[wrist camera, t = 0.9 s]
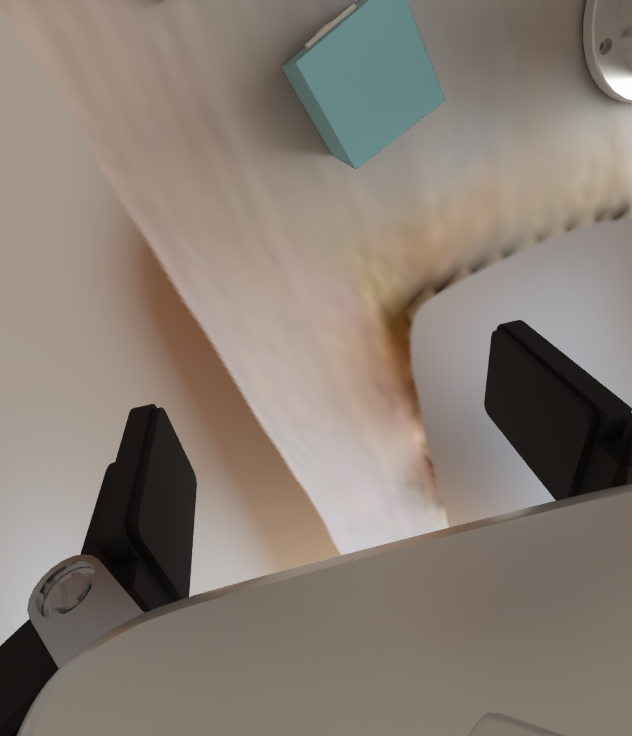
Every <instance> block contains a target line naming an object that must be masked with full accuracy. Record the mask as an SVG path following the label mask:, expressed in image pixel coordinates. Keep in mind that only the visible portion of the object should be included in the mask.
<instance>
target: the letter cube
mask: <svg viewBox="0 0 632 736" xmlns="http://www.w3.org/2000/svg"><path fill="white" fill-rule="evenodd" d="M316 34H317V35H315V36H314V37H313V38H312V39H311V40H310V41H308V42H307V43H306V44H305V47H304V48H303V49H302V50H301V51H300V52H298V53H297V54H296V55H295V56H294V57H292V58H291V59H290V60H289V61H288V62H287V63H285V64H284V65H283V66H282V67H281V68H282V70H283V72H284V73H285V75H286V77H287V79H288V80H289V82H290V84H291V85H292V87H293V89H294V91H295V92H296V94H297V96H298V98H299V99H300V101H301V103H302V104H303V106H304V108H305V110H306V111H307V113H308V115H309V116H310V118H311V120H312V122H313V123H314V125H315V127H316V128H317V130H318V132H319V134H320V135H321V137H322V139H323V141H324V142H325V144H326V146H327V147H328V149H329V151H330V153H331V154H332V156H334V157H336V158H337V159H339V160H341V161H342V162H344V163H346V164H347V165H349V166H351V167H352V168H354V169H356V168H358V167H359V166H360V165H362V164H363V163H364V162H366V161H367V160H368V159H369V158H371V157H372V156H373V155H375V154H376V153H377V152H379V151H380V150H381V149H382V148H384V147H385V146H386V145H388V144H389V143H390V142H392V141H393V140H394V139H395V138H397V137H398V136H399V135H401V134H402V133H403V132H405V131H406V130H407V129H409V128H410V127H411V126H412V125H414V124H415V123H416V122H418V121H419V120H420V119H422V118H423V117H424V116H425V115H427V114H428V113H429V112H431V111H432V110H433V109H435V108H436V107H437V106H439V105H440V104H441V103H442V102H444V101H445V98H444V95H443V93H442V90H441V87H440V85H439V82H438V80H437V77H436V75H435V72H434V69H433V67H432V64H431V62H430V59H429V57H428V54H427V51H426V49H425V46H424V44H423V41H422V38H421V36H420V33H419V31H418V28H417V26H416V23H415V20H414V18H413V15H412V13H411V10H410V8H409V5H408V2H407V0H359V1H358V2H357V3H356V4H355V3H353V4H352V5H351V6H349V7H348V8H347V9H346V10H345V11H344V12H342V13H341V14H340V15H339V16H338V17H337V18H335V19H334V20H333V21H332V22H330V23H328V24H326V25H325V26H323V27H322V28H321V29H320V30H319V31H317V32H316Z"/></svg>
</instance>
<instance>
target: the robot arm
mask: <svg viewBox="0 0 632 736" xmlns="http://www.w3.org/2000/svg"><path fill="white" fill-rule="evenodd" d="M583 44H584V51H585V58H586V62H587V65H588V68H589V71H590V73H591V76H592V78H593V79H594V81H595V82H596V84H597V85H598V87H599V88H600V89H601V90H602V91H603V92H605V93H606V94H607V95H608V96H609V97H611V98H614V99H616V100H619V101H621V102H628V103H632V0H586V6H585V13H584V19H583ZM484 404H485V410H486V412H487V414H488V415H489V417H490V418H491V419H492V421H493V422H494V423H495V424H496V425H497V427H498V428H499V429H500V431H501V432H502V433H503V434H504V436H505V437H506V438H507V439H508V441H509V442H510V443H511V444H512V446H513V447H514V448H515V450H516V451H517V452H518V453H519V455H520V456H521V457H522V458H523V460H524V461H525V462H526V463H527V465H528V466H529V467H530V468H531V470H532V471H533V472H534V474H535V475H536V476H537V477H538V478H539V480H540V481H541V482H542V484H543V485H544V486H545V487H546V488H547V490H548V491H549V492H550V494H551V495H552V496H553V497H554V499H555V500H556V501H553V502H549V503H546V504H541V505H538V506H534V507H529V508H525V509H522V510H518V511H514V512H510V513H506V514H502V515H498V516H494V517H490V518H486V519H482V520H478V521H474V522H470V523H466V524H462V525H458V526H454V527H450V528H446V529H442V530H439V531H435V532H431V533H427V534H423V535H419V536H415V537H411V538H407V539H404V540H400V541H396V542H392V543H388V544H384V545H380V546H376V547H373V548H369V549H365V550H361V551H357V552H353V553H349V554H346V555H342V556H338V557H334V558H331V559H327V560H323V561H319V562H315V563H311V564H308V565H304V566H300V567H296V568H292V569H289V570H285V571H281V572H277V573H274V574H270V575H266V576H262V577H259V578H255V579H251V580H247V581H244V582H240V583H237V584H233V585H230V586H226V587H223V588H219V589H216V590H212V591H208V592H205V593H201V594H198V595H194V596H191V597H189V589H190V575H191V561H192V546H193V532H194V531H193V530H194V517H195V502H196V487H197V482H196V476H195V473H194V471H193V469H192V467H191V464H190V462H189V460H188V459H187V456H186V454H185V452H184V450H183V448H182V446H181V443H180V441H179V439H178V437H177V435H176V433H175V431H174V429H173V427H172V425H171V422H170V420H169V418H168V416H167V414H166V412H165V410H164V409H163V408H162V407H161V408H157V407H156V406H155V405H154V404H150V405H146V406H142V407H137V408H133V409H131V411H130V413H129V416H128V420H127V423H126V427H125V430H124V434H123V438H122V441H121V444H120V448H119V451H118V454H117V458H116V462H114V463H111V464H110V465H109V466H108V468H107V470H106V473H105V476H104V479H103V482H102V486H101V489H100V493H99V496H98V499H97V502H96V505H95V509H94V512H93V515H92V518H91V522H90V525H89V529H88V532H87V535H86V538H85V541H84V545H83V548H82V551H81V555H76V556H73V557H70V558H68V559H66V560H64V561H62V562H60V563H59V564H58V565H56V566H54V567H53V568H51V569H50V570H49V571H48V572H47V573H46V574H45V575H44V576H43V577H42V578H41V580H40V581H39V582H38V584H37V585H36V586H35V588H34V590H33V592H32V594H31V596H30V598H29V603H28V609H27V610H28V614H29V618H30V619H29V620H28V621H27V622H26V623H24V624H23V625H22V626H21V627H20V628H19V629H18V630H17V631H16V632H15V633H14V634H13V635H12V636H11V637H10V638H9V639H7V640H6V641H5V642H4V643H3V644H2V645H1V646H0V736H632V413H631V411H632V408H631V407H629V406H628V405H627V404H626V403H624V402H623V401H622V400H621V399H620V398H618V397H617V396H616V395H615V394H613V393H612V392H611V391H610V390H608V389H607V388H606V387H605V386H603V385H602V384H601V383H600V382H598V381H597V380H596V379H595V378H593V377H592V376H591V375H590V374H588V373H587V372H586V371H585V370H583V369H582V368H581V367H580V366H578V365H577V364H576V363H575V362H573V361H572V360H571V359H570V358H568V357H567V356H566V355H565V354H563V353H562V352H561V351H559V350H558V349H557V348H556V347H554V346H553V345H552V344H551V343H549V342H548V341H547V340H546V339H545V338H543V337H542V336H541V335H540V334H538V333H537V332H536V331H535V330H533V329H532V328H531V327H530V326H528V325H527V324H526V323H525V322H523V321H521V320H517V321H513V322H508V323H504V324H500V325H499V326H498V327H497V330H496V331H494V332H493V333H492V336H491V345H490V354H489V365H488V374H487V382H486V392H485V402H484Z"/></svg>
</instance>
